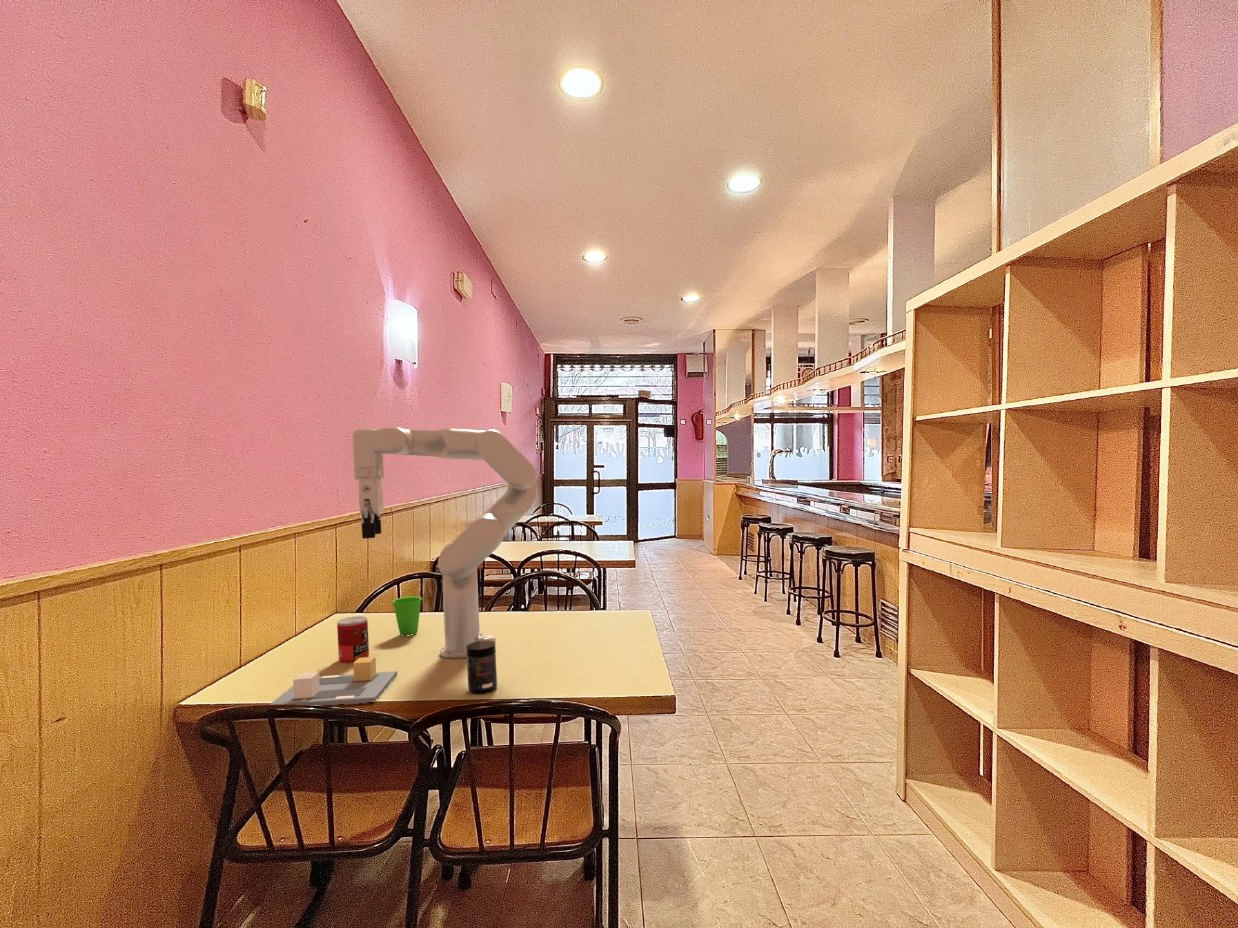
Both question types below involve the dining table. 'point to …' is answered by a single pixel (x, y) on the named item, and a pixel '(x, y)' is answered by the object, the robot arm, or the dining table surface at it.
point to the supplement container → (481, 667)
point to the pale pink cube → (306, 685)
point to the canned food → (352, 639)
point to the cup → (407, 614)
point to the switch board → (342, 690)
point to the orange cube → (364, 668)
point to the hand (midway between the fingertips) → (372, 535)
